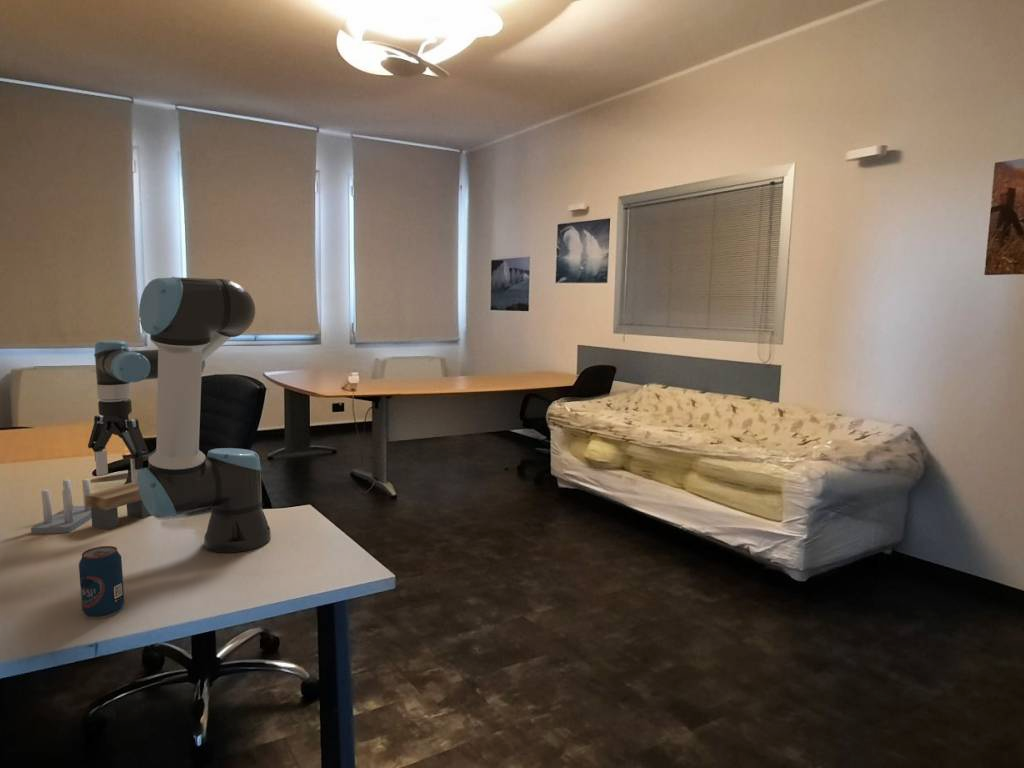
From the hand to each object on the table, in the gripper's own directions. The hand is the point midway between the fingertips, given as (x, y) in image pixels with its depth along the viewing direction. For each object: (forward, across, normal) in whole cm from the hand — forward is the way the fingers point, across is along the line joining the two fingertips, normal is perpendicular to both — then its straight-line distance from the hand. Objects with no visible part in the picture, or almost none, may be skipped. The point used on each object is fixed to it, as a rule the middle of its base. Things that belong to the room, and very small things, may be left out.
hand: (119, 477), depth 179 cm
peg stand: (+12, +12, +6) cm, 18 cm away
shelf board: (+6, 0, 0) cm, 6 cm away
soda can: (+11, -46, +38) cm, 60 cm away
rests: (+12, -1, 0) cm, 12 cm away
